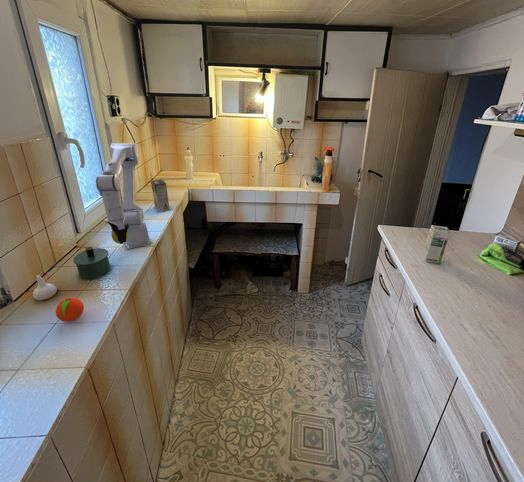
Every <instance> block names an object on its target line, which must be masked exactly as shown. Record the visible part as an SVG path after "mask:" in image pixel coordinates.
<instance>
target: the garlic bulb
mask: <svg viewBox="0 0 524 482" xmlns="http://www.w3.org/2000/svg"><path fill="white" fill-rule="evenodd" d="M35 277H36V282H37V287H36V288H34V290H33V292H32V297H33V298H34V299H35V301H45V300H48V299H50V298H52V297H54V295H56V294H57V292H58V289H57V286H56V285H55V284H53V283H47V282H46V281H45V280H44V278H43V277H42V275H41V274H37V275H35Z"/></svg>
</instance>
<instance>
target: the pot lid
mask: <svg viewBox="0 0 524 482" xmlns="http://www.w3.org/2000/svg"><path fill="white" fill-rule="evenodd" d="M107 256H108V257H109V251H108V250H107V249H105V248H102V247H95V248H93V246H88V247H85V250H83V251H81V252H79V253H77V254H76V255H74V257H73V263H74V264H75V265H76V264H77V265H82V266H84V265H91V264H95V263H98V262H100V261H102V260H104V259H105V258H106V257H107Z"/></svg>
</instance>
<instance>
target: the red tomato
mask: <svg viewBox="0 0 524 482" xmlns="http://www.w3.org/2000/svg"><path fill="white" fill-rule="evenodd" d="M84 309H85V306H84V303H83V301H82V300H81V299H80V298H77V297H73V296H72V297H67V298H64V299H62V300H61V301H59V303H58V304H57V305H56V307H55V316H56V318H57V319H58V320H60V321H62V322H66V323H69V322H74V321H76V320H78V319H79V318H80V317H81V316H82V315H83V313H84Z"/></svg>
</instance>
